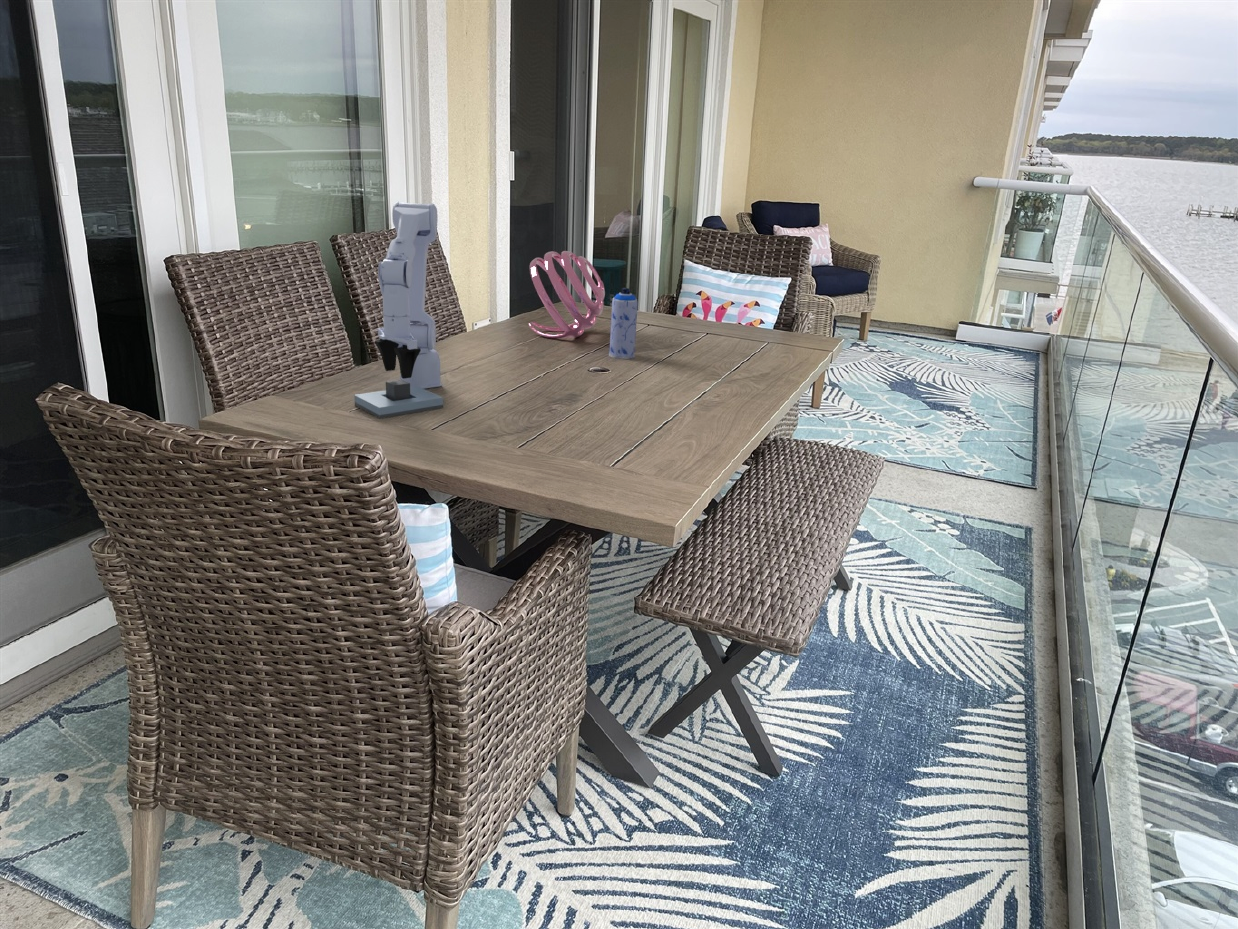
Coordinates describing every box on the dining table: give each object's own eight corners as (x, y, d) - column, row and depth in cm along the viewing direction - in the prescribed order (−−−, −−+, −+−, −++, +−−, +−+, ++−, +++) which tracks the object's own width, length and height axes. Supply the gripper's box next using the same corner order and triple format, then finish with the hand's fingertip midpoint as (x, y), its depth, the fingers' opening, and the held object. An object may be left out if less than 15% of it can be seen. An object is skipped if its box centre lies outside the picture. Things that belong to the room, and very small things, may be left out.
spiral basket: (488, 273, 277) (562, 227, 270) (522, 283, 304) (590, 242, 296) (528, 353, 275) (604, 309, 268) (559, 356, 302) (628, 317, 295)
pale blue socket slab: (417, 395, 216) (416, 385, 215) (443, 407, 207) (443, 397, 207) (354, 405, 206) (354, 394, 205) (379, 418, 197) (379, 407, 196)
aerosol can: (639, 358, 266) (643, 290, 259) (614, 359, 263) (618, 290, 256) (629, 352, 272) (633, 286, 266) (604, 353, 270) (608, 286, 263)
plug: (402, 400, 209) (401, 379, 207) (410, 404, 206) (410, 383, 204) (386, 402, 206) (385, 381, 205) (394, 406, 204) (393, 385, 202)
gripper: (364, 310, 202) (367, 369, 206) (395, 322, 192) (397, 383, 196) (393, 307, 206) (394, 365, 211) (425, 319, 196) (426, 379, 201)
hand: (398, 374), depth 204 cm, fingers open, 7 cm apart
